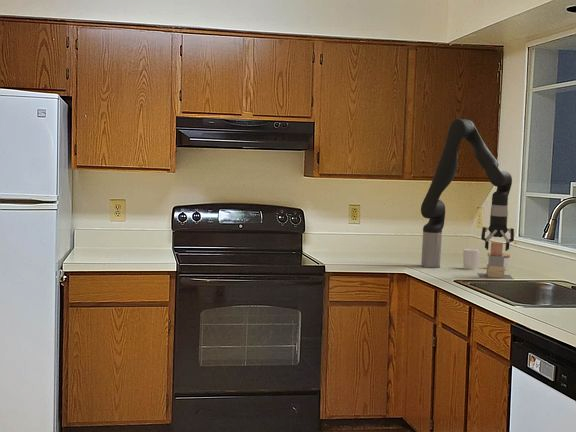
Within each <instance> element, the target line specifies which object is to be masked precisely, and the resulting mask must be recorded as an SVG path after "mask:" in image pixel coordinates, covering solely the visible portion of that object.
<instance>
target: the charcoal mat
mask: <svg viewBox="0 0 576 432" xmlns="http://www.w3.org/2000/svg"><path fill="white" fill-rule="evenodd" d="M476 274H477V275H478V277H479V278H483V279H495V280H496V279H498V280H499V279H501V280H515V279H514V278H513V276H511V274H504V278H499V277H488V276H487V275H486V273H482V272H476Z"/></svg>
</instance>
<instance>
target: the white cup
mask: <svg viewBox="0 0 576 432" xmlns="http://www.w3.org/2000/svg"><path fill="white" fill-rule="evenodd" d="M462 251H463V252H462V264H463V265H462V266H463V269H465V270H473V271H476V270H478V269H479V263H480V255H481V254H480V253H481V250H480V249H476V248H464V249H463V250H462Z"/></svg>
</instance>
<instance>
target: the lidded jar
mask: <svg viewBox="0 0 576 432" xmlns="http://www.w3.org/2000/svg"><path fill="white" fill-rule="evenodd" d="M490 253H491V252H488V253H487V262H488V261H489V254H490ZM502 255H503V256H504V267H505V270H506V269H507V268H508V267H509V263H510V258H511V255H510V254H509V253H505V252H504V253H503V252H502Z"/></svg>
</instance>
